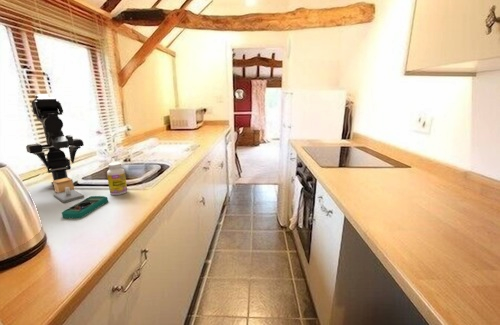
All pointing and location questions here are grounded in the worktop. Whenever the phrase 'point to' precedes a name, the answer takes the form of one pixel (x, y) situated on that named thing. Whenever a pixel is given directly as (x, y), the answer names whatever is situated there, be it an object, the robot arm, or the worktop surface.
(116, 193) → the supplement bottle
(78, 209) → the digital multimeter
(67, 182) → the tan wooden block
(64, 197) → the post board
